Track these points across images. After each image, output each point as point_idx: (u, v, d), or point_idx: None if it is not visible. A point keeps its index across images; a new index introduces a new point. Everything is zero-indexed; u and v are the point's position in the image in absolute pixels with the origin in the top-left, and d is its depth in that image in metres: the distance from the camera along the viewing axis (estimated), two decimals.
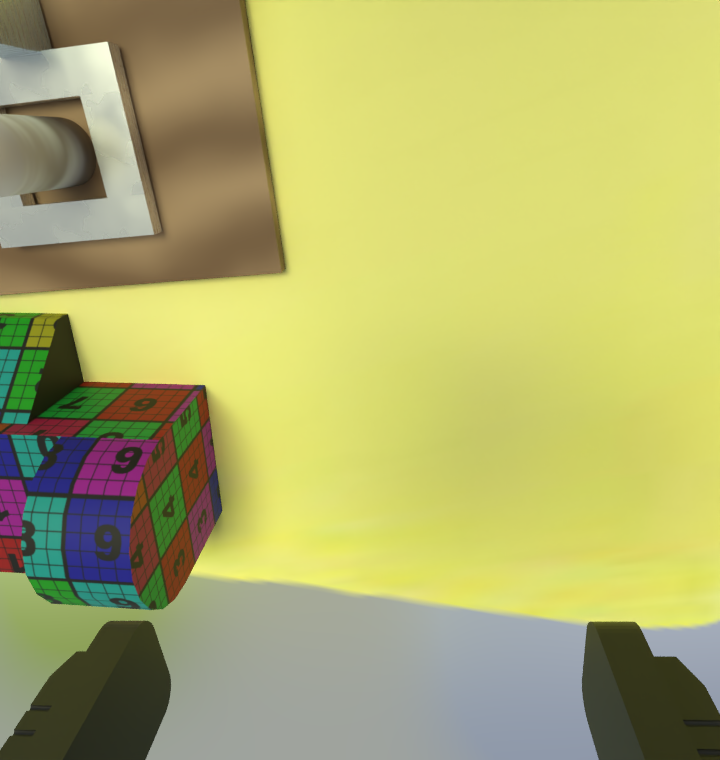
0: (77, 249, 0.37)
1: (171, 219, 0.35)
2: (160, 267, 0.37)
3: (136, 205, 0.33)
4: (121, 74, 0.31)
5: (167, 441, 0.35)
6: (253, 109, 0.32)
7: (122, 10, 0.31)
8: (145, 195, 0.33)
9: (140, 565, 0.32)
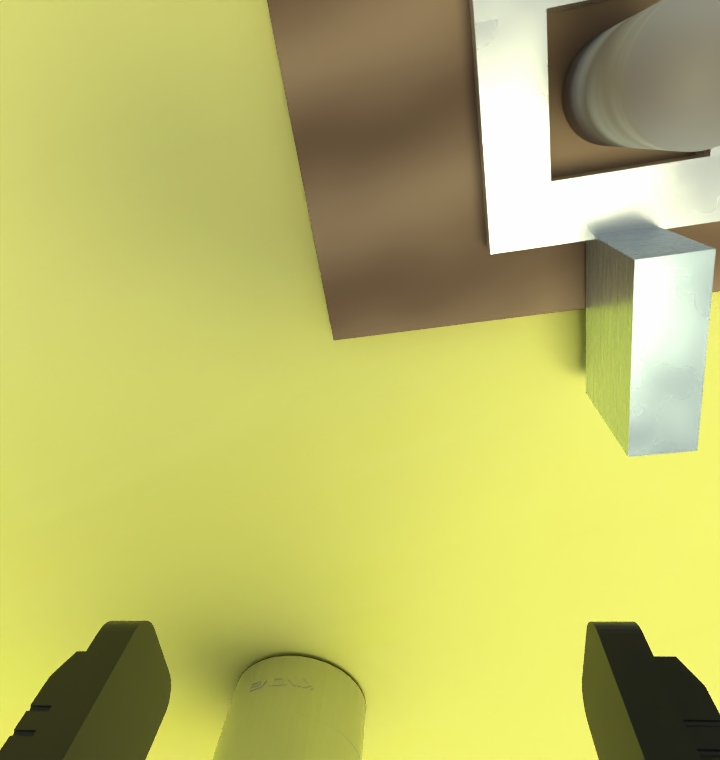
0: None
1: None
2: None
3: None
4: (485, 213, 0.22)
5: None
6: (305, 176, 0.23)
7: (475, 286, 0.24)
8: (474, 21, 0.19)
9: None
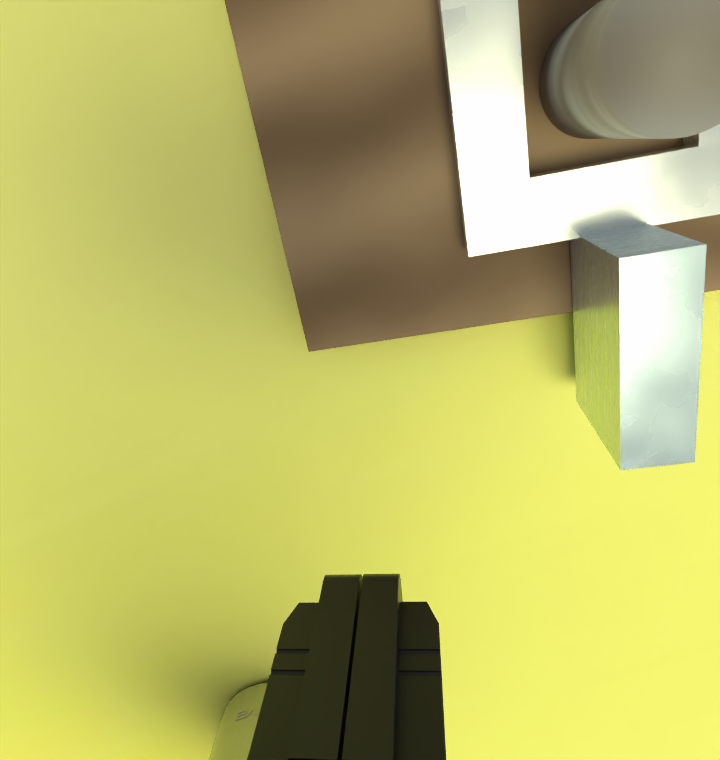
0: None
1: None
2: None
3: None
4: (462, 213, 0.21)
5: None
6: (272, 180, 0.22)
7: (456, 291, 0.23)
8: (440, 9, 0.18)
9: None
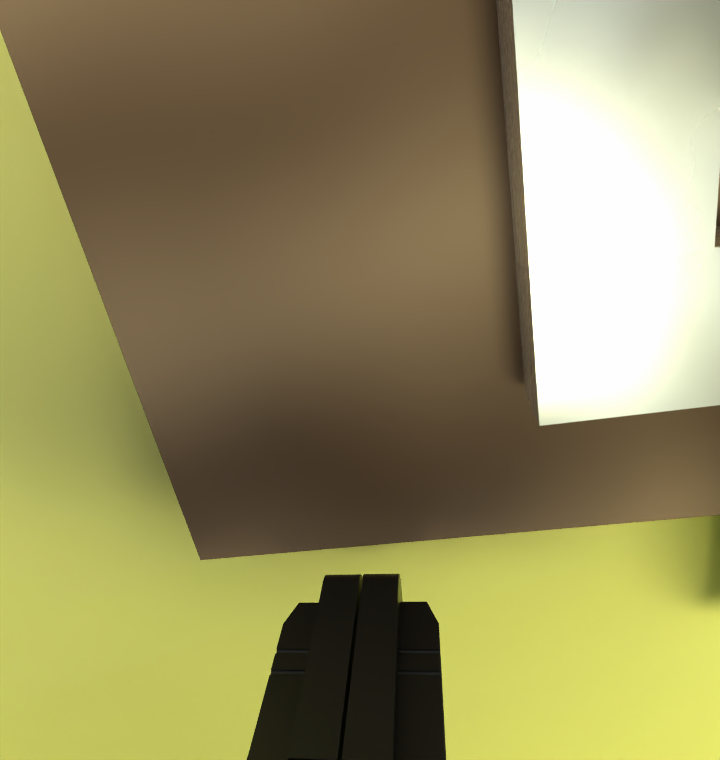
0: None
1: None
2: None
3: None
4: (524, 321, 0.09)
5: None
6: (86, 232, 0.10)
7: (498, 465, 0.11)
8: None
9: None
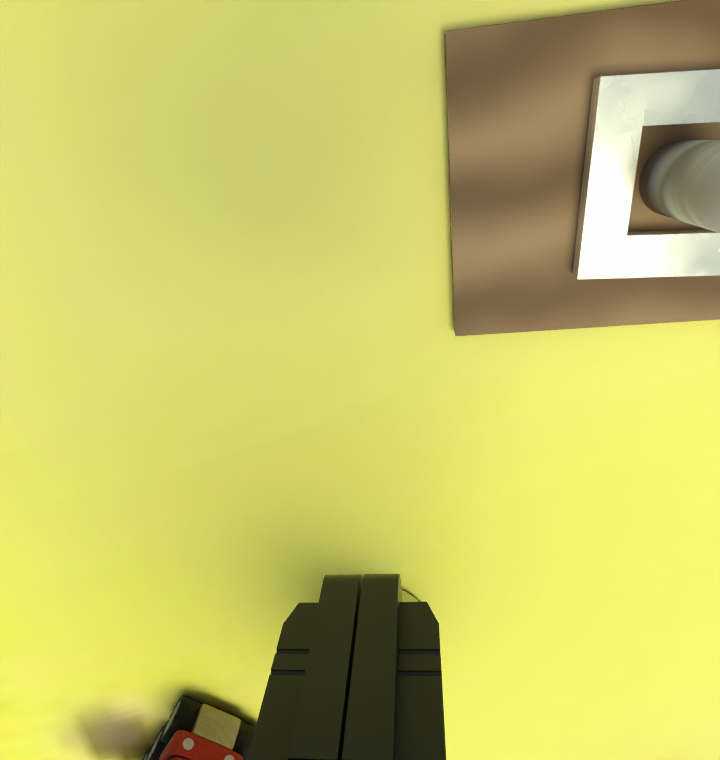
0: (714, 55, 0.28)
1: (572, 100, 0.30)
2: (606, 32, 0.28)
3: (611, 266, 0.31)
4: None
5: None
6: (454, 220, 0.33)
7: (564, 303, 0.34)
8: (618, 277, 0.32)
9: None
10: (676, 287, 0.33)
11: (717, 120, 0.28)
